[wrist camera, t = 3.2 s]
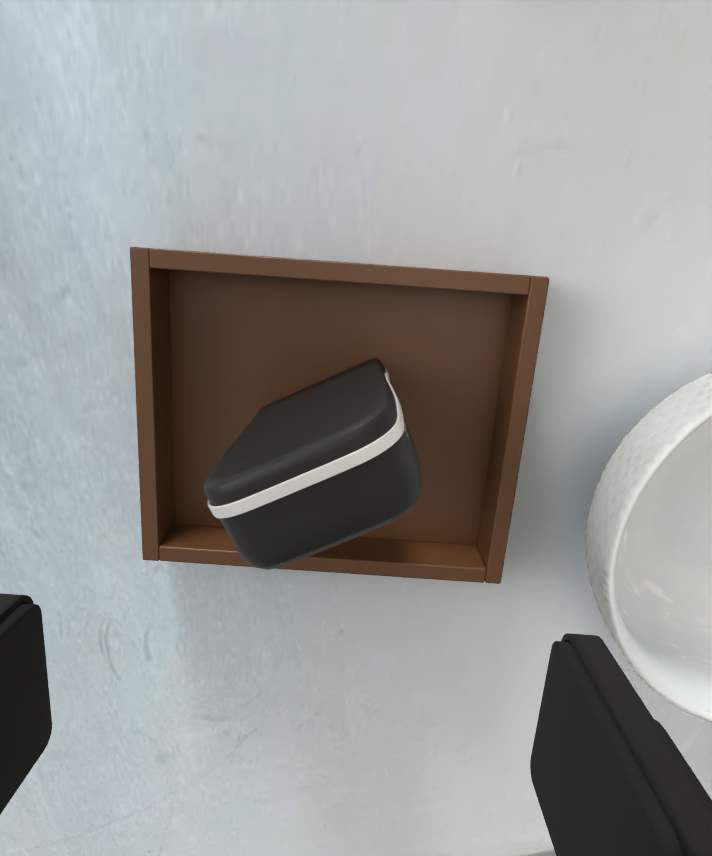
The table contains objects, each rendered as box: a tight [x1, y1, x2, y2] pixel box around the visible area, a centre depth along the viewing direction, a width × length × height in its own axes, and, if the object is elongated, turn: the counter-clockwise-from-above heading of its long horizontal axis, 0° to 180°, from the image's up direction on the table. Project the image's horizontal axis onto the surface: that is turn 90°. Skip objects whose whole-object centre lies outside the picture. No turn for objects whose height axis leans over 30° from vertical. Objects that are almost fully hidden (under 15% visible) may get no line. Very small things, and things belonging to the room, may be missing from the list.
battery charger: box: [204, 358, 422, 569], centre depth 22 cm, size 7×4×11 cm, turn 114°
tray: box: [130, 247, 549, 584], centre depth 26 cm, size 18×15×3 cm
